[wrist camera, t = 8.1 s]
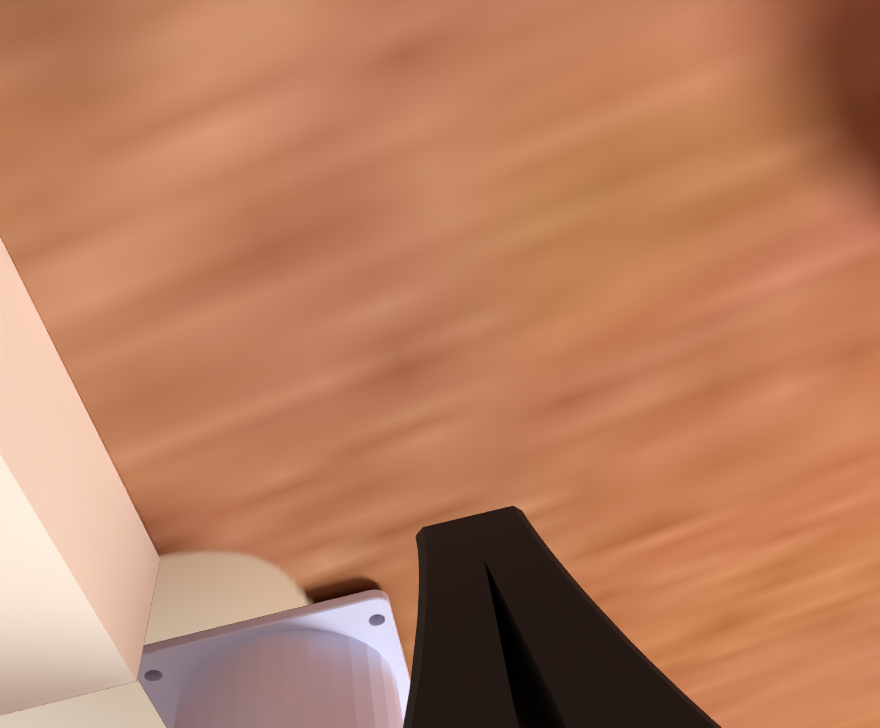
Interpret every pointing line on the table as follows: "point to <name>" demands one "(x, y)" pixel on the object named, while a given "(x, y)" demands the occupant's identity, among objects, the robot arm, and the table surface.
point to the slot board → (61, 529)
